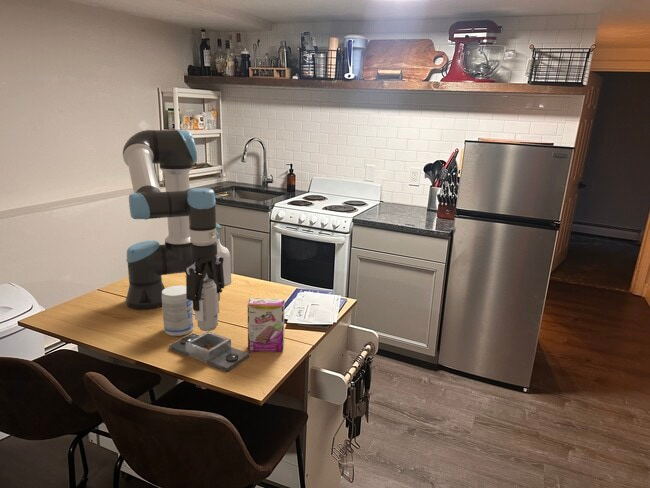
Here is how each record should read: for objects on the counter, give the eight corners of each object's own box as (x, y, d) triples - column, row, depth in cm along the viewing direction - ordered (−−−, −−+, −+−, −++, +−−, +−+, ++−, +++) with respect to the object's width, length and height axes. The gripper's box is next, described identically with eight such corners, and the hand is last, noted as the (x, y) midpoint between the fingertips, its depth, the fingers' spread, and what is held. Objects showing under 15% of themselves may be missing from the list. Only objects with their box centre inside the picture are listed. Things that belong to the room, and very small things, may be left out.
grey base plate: (169, 349, 147) (168, 337, 145) (192, 336, 155) (192, 325, 154) (227, 371, 135) (226, 359, 134) (249, 356, 143) (249, 345, 142)
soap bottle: (212, 291, 192) (209, 227, 184) (200, 286, 197) (197, 223, 190) (233, 284, 200) (232, 222, 192) (222, 279, 205) (219, 219, 198)
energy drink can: (220, 329, 141) (218, 282, 137) (201, 333, 138) (198, 286, 134) (214, 321, 146) (212, 276, 142) (195, 325, 143) (192, 279, 139)
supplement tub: (195, 334, 156) (193, 293, 152) (166, 339, 152) (163, 297, 148) (191, 322, 165) (188, 283, 161) (162, 326, 161) (159, 287, 157)
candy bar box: (247, 352, 146) (246, 304, 141) (249, 344, 151) (248, 297, 146) (283, 353, 146) (283, 304, 141) (284, 345, 151) (284, 298, 146)
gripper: (188, 252, 125) (193, 330, 131) (235, 237, 141) (237, 308, 147) (168, 247, 129) (174, 324, 135) (216, 233, 145) (219, 302, 151)
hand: (207, 315), depth 141 cm, fingers closed on energy drink can, 6 cm apart
